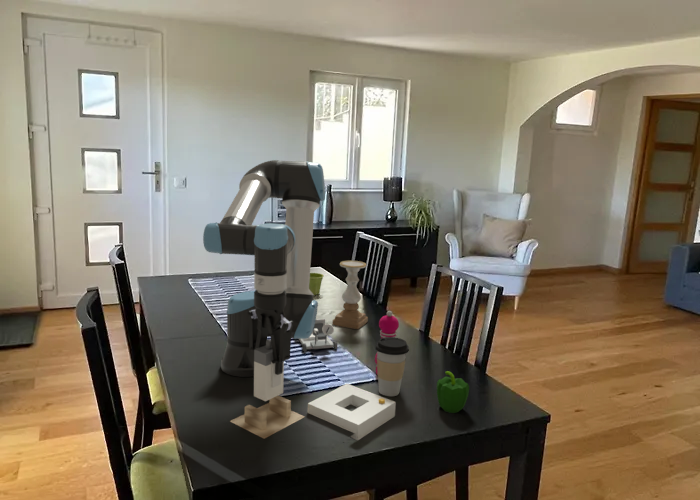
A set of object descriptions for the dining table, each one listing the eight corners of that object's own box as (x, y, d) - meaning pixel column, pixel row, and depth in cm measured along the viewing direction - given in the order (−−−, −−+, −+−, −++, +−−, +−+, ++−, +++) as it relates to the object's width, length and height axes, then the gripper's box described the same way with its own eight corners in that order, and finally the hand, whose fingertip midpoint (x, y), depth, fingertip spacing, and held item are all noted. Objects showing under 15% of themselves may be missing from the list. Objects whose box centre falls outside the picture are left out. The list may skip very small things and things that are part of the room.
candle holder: (331, 324, 213) (334, 264, 208) (342, 317, 223) (345, 259, 218) (358, 329, 209) (361, 267, 204) (368, 321, 219) (371, 262, 214)
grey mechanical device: (340, 326, 183) (306, 328, 180) (339, 354, 185) (305, 357, 182) (325, 309, 200) (294, 311, 196) (324, 335, 202) (293, 338, 198)
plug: (253, 396, 135) (254, 341, 132) (271, 387, 139) (272, 335, 136) (265, 401, 132) (266, 346, 129) (283, 392, 137) (284, 339, 134)
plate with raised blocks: (229, 426, 135) (229, 405, 134) (271, 406, 146) (271, 387, 145) (264, 444, 128) (264, 422, 127) (305, 422, 139) (305, 401, 138)
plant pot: (322, 296, 250) (323, 278, 249) (301, 295, 250) (302, 277, 249) (323, 291, 260) (324, 273, 258) (303, 290, 260) (304, 272, 258)
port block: (307, 418, 141) (307, 401, 140) (346, 397, 154) (346, 381, 153) (357, 440, 132) (358, 422, 131) (394, 416, 144) (395, 399, 143)
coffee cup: (370, 384, 162) (373, 335, 159) (402, 384, 163) (406, 336, 160) (375, 399, 153) (378, 347, 150) (408, 399, 154) (412, 348, 151)
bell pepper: (472, 414, 147) (475, 379, 145) (444, 417, 145) (447, 381, 143) (457, 400, 155) (460, 366, 153) (430, 403, 152) (433, 368, 151)
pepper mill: (400, 371, 173) (404, 309, 169) (394, 380, 166) (398, 316, 162) (377, 367, 175) (381, 306, 171) (371, 375, 168) (374, 312, 164)
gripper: (233, 285, 133) (233, 377, 137) (285, 301, 122) (283, 399, 127) (257, 280, 138) (256, 367, 143) (308, 294, 128) (305, 388, 133)
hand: (268, 382), depth 135 cm, fingers closed on plug, 4 cm apart
